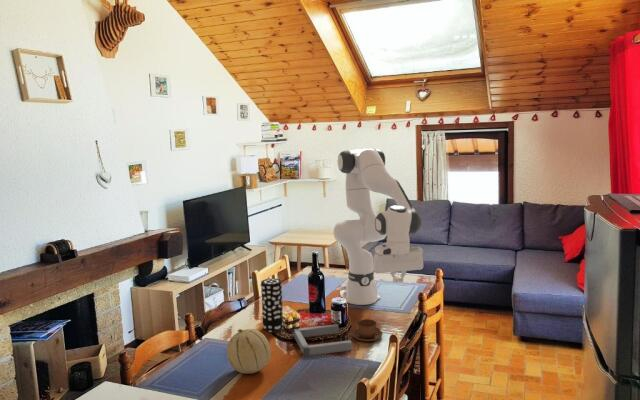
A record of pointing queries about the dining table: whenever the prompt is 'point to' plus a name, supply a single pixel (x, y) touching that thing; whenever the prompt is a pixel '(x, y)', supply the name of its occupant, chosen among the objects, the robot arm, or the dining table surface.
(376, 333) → the cup and saucer
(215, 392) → the dining table surface
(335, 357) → the dining table surface
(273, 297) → the white-spotted black cylinder
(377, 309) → the dining table surface
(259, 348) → the cantaloupe
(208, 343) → the dining table surface
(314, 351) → the grey u-shaped bar
